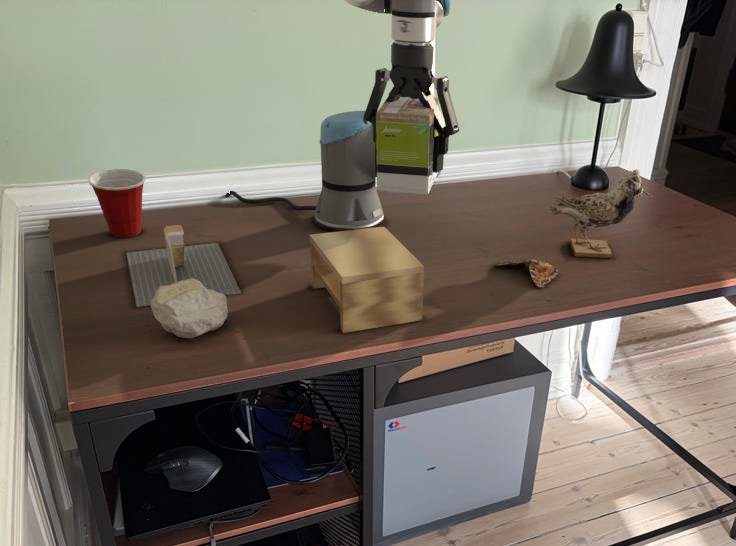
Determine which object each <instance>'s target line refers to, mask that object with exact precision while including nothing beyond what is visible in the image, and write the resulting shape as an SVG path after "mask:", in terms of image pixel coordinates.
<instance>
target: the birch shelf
mask: <svg viewBox="0 0 736 546" xmlns="http://www.w3.org/2000/svg"><path fill="white" fill-rule="evenodd" d="M308 237H309V255H310V256H309V257H310V279H311V287H312V289H313V290H315V289H323V288H325V289H326V290H327V292H328V293H329V295H330V296H331V297H332V299H333V300H334V302H335V303H336V304H337V306H338V307H339V310H340V311H339V312H340V331H341V332H342V334H346V333H352V332H359V331H365V330H371V329H377V328H383V327H390V326H396V325H400V324H401V325H402V324H406V323H407V324H408V323H413V322H421V321H423V306H424V305H423V303H424V281H425V279H424V277H425V265H424V264H423V263H422V262H420V260H419V259H418V258H417V257H415V255H414V254H412V252H410V250H409V249H407V248H406V247H405V246H404V245H403V244H402V242H401V241H400V240H398V239H397V238H396V237H395V236H394V235H393V233H391V232H390V231H389V230H388V229H387V228H386V227H385V226H380V227H376V228H367V229H357V230H348V231H339V232H333V231H329V232H323V233H314V234H313V233H312V234H309V236H308Z"/></svg>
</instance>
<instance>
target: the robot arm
mask: <svg viewBox="0 0 736 546" xmlns="http://www.w3.org/2000/svg"><path fill="white" fill-rule="evenodd" d="M344 1H345V2H346V3H347V4H349V5H350V6H353V7H356V8H358V9H361V10H364V11H367V10H368V12H371V11H372V12H371V13H376V12H377V14H384V15H391V39H392V40H393V41H394V42H391V43H392V44H391V45H390V63H391V64H390V65H391V69H390V70H388V68H386V67H381V68H378V69H376V70H375V73H374V75H375V77H374V85H373V87H372V91H371V94H370V95H369V96H370V97H369V99H368V102H367V105H366V108H365V110H351V111H345V112H339V113H335V114H332V115H329V116H327V117H325V119H323V120H322V121H321V124H320V132H319V133H320V134H319V135H320V137H319V144H320V161H321V162H320V164H321V165H320V166H321V190H320V193H319V197H318V200H317V204H316V205H296V204H294V203H293V201H291V200H289V199H288V198H286V197H281V196H280V197H278V196H277V197H276V196H274V197H264V198H257V199H256V198H255V199H253V198H252V199H251V198H250V199H249V198H245V197H243V196H241V195H240V194H239V193H238V192H236V191H235V190H229V191H230V194H229V193H227V192H226V193H225V195H224V197H225V198H226V197H227V198H229V197H231V196H233V197H235V198H236V199H237V200H238V201H240V202H241V203H244V204H249V205H258V204H264V203H273V202H281V203H285V204H287V205H288V206H289V207H290V208H291V209H293V210H295V211H314V223H315V224H316V226H318V227H319V228H320V229H323V230H326V231H329V232H339V231H348V230H357V229H367V228H376V227H382V226H383V224H384V220H385V219H384V218H385V216H384V215H385V214H384V210H383V207H382V204H381V200H380V197H379V194H378V190H377V148H376V113H377V111H379V109H380V104H381V102H382V98H383V96H384V93H385V91H386V88H387V84H388V82H389V81H391V83H392V85H393V87H392V88H391V90H390V91H389V93H388V96H387V97H386V99H385V100H384V102H383V103H382V105H381V107H382V106H383V104H384V103H385V102H394V101H397V100H399V98H400V97H404V98H406V97H410V98H412V99H419V101H420V103H421V104H423V106H424V107H426V108H430V109H434V127H435V129H436V131H437V133H438V136H436V137H435V139H434V163H433V172H434V173H437V172H438V174H437V176H436V178H435V179H437V178H438V177H439V176H440V175H441V173H442V171H443V170H444V159H445V155H446V154H448V152H449V144H450V143H449V142H450V137H451V136H453V135H456V134H457V133H459V132H460V126H459V122H458V118H457V115H456V111H455V108H454V104H453V99H452V97H451V94H450V78H449V77H448V76H446V75H445V76H436V70H437V69H436V66H437V65H436V63H437V62H436V61H437V34H438V33H437V32H438V31H437V29H438V27H439V26H440V25H441V24H442V22H443V20H444V18H445V17H448V16H449V15H450V12H451V0H344ZM384 9H385V12H384ZM436 94H437V97H438V99H439V103H440V110H439V108H438V106H437V104H436V102H435V100H434V97H436Z"/></svg>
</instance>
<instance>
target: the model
mask: <svg viewBox="0 0 736 546" xmlns="http://www.w3.org/2000/svg"><path fill="white" fill-rule="evenodd" d="M163 234H164V241H165V248H164V249H166V255H167V262H168V265H169V268H170V271H171V275H172V278H173V280H174V281H177V280H178V279H177V272H176V267H180V266H183V267H184V266H185V261H186V260H187V257H186V249H185V242H184V236H183V235H185V232H184V228H183V226H182V224H175V225H174V224H173V225H166V226H164V228H163Z"/></svg>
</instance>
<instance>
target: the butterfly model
mask: <svg viewBox="0 0 736 546" xmlns="http://www.w3.org/2000/svg"><path fill="white" fill-rule="evenodd" d="M522 263H523V264H524V263H525V268H527V269H528V273H530V277H531V279H532V281H533V283H534V284H535V286H536V287H537V288H544V287H545V285H547V284H549V283H551V279H552V280H553V279H555V278H556V276H557V275H559V273H560V271H559V270H558V267H557V266H554V265H551V264H550V263H549V262H548V261H546V262H545V261H543V262H542V261H541V260H540V259H535V258H526V259H525V260H521V261H513V262H508V263H506V262H505V263H497V264H496V266H506V265H512V264H513V265H516V264H522Z"/></svg>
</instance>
